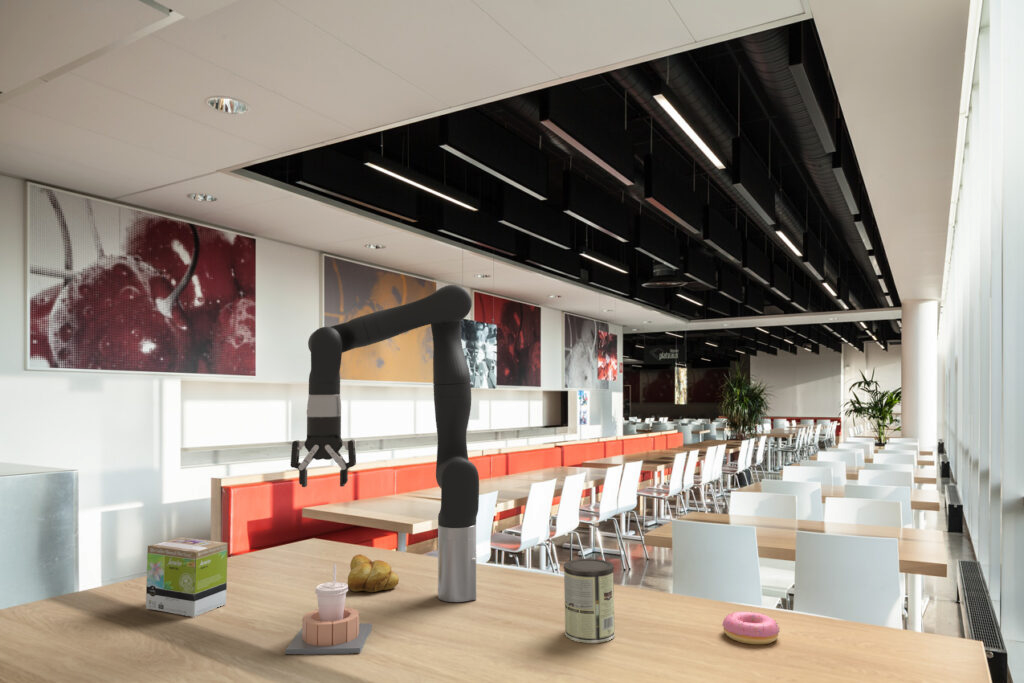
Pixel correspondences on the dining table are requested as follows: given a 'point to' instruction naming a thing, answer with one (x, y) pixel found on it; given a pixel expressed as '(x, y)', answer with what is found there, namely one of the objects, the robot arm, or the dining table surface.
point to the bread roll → (370, 575)
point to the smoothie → (331, 599)
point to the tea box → (186, 576)
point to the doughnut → (750, 628)
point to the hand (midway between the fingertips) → (323, 486)
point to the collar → (330, 635)
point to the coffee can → (589, 600)
